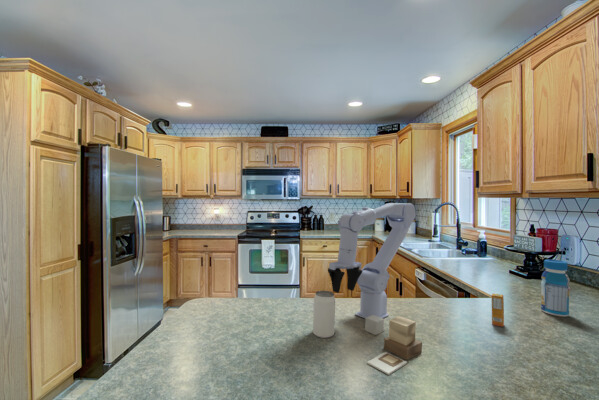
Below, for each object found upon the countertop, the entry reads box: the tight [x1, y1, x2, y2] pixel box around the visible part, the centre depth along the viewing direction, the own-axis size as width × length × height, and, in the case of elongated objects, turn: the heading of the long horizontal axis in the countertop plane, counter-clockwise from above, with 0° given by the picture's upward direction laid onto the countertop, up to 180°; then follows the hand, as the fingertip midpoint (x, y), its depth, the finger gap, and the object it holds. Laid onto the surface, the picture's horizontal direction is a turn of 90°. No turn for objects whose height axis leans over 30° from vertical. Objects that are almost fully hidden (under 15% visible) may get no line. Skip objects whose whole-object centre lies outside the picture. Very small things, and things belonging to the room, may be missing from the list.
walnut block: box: [383, 336, 423, 361], centre depth 77 cm, size 7×7×3 cm
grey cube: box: [364, 315, 385, 336], centre depth 89 cm, size 4×4×4 cm
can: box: [312, 290, 336, 339], centre depth 86 cm, size 6×6×12 cm
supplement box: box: [491, 293, 505, 328], centre depth 97 cm, size 3×3×10 cm
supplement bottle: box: [540, 259, 571, 317], centre depth 110 cm, size 8×8×20 cm
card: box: [366, 351, 407, 376], centre depth 70 cm, size 8×6×1 cm
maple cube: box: [388, 315, 417, 346], centre depth 78 cm, size 5×5×5 cm
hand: (343, 290), depth 94 cm, fingers open, 7 cm apart
